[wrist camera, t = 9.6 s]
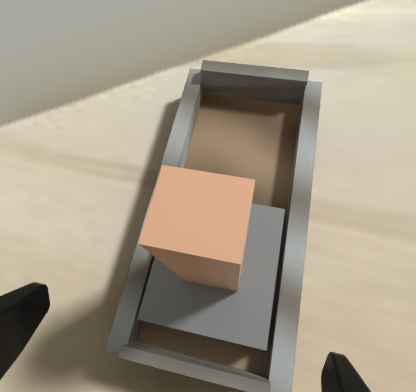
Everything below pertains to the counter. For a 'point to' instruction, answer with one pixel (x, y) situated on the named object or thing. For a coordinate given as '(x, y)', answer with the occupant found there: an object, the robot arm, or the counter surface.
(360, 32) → the counter surface
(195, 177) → the carriage
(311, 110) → the rail
